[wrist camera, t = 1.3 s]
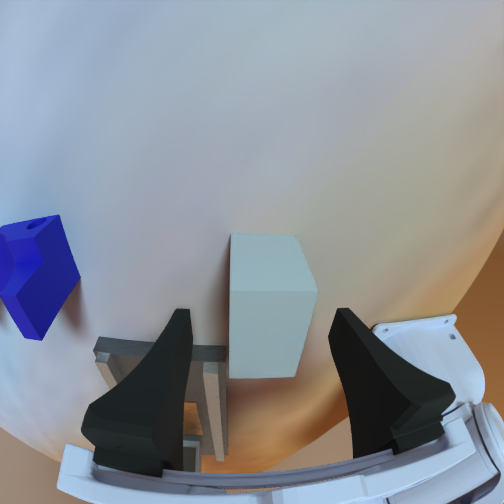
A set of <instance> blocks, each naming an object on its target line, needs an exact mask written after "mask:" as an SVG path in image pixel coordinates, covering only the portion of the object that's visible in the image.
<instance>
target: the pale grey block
mask: <svg viewBox="0 0 504 504" xmlns="http://www.w3.org/2000/svg"><path fill="white" fill-rule="evenodd" d="M317 294H318V289H317V286H316V284H315V281H314V279H313V276H312V274H311V271H310V269H309V266H308V264H307V261H306V259H305V256H304V254H303V252H302V249H301V247H300V244H299V242H298V240H297V237H296V235H286V234H253V233H231V248H230V300H229V378H280V377H295V373H296V370H297V367H298V364H299V360H300V357H301V353H302V350H303V347H304V343H305V340H306V336H307V332H308V329H309V325H310V321H311V318H312V314H313V310H314V306H315V302H316V298H317Z"/></svg>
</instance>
